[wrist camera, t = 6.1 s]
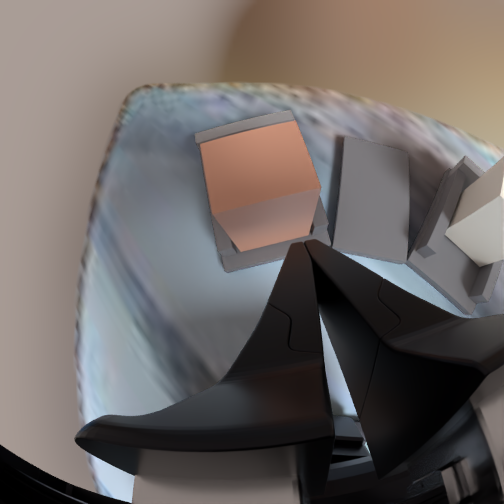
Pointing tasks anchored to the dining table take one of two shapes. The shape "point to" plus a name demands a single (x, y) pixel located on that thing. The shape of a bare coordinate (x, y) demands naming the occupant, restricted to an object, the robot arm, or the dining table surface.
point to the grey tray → (377, 218)
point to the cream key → (481, 218)
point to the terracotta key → (261, 185)
